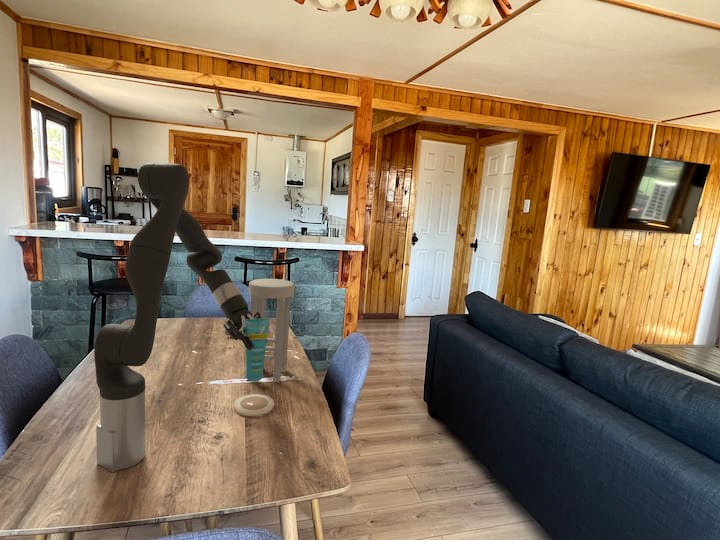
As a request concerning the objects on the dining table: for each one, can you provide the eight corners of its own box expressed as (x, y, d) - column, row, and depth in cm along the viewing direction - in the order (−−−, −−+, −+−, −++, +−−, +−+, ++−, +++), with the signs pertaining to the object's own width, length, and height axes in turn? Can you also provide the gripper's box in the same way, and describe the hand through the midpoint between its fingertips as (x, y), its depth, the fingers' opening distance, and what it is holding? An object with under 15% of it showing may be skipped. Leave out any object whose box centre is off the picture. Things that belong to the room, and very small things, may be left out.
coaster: (255, 420, 120) (256, 416, 120) (225, 408, 125) (225, 404, 125) (281, 404, 131) (281, 400, 131) (252, 394, 136) (252, 390, 136)
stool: (283, 386, 144) (288, 288, 138) (239, 381, 145) (243, 284, 139) (292, 368, 159) (298, 280, 154) (253, 364, 160) (257, 276, 154)
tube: (245, 383, 123) (248, 321, 120) (240, 376, 127) (242, 316, 124) (269, 379, 127) (272, 319, 124) (263, 373, 131) (266, 314, 128)
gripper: (219, 297, 120) (249, 346, 117) (253, 290, 133) (280, 333, 129) (206, 311, 123) (234, 359, 120) (240, 303, 136) (266, 345, 133)
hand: (258, 345), depth 125 cm, fingers closed on tube, 5 cm apart
